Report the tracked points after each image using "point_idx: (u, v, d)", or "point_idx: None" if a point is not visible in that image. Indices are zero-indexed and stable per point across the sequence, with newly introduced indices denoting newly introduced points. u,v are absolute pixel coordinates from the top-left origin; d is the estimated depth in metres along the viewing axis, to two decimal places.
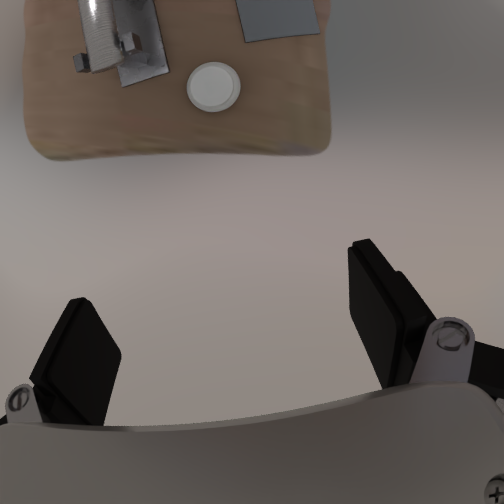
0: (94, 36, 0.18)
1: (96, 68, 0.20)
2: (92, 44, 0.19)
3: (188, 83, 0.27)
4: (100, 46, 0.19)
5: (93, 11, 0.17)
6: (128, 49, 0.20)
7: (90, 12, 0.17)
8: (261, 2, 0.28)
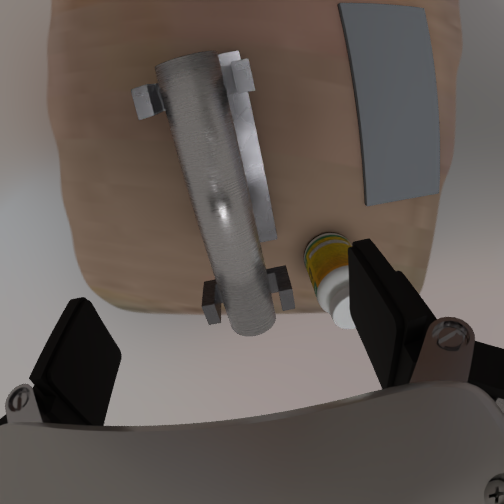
0: (243, 300, 0.18)
1: (246, 335, 0.19)
2: (240, 309, 0.18)
3: (322, 292, 0.27)
4: (253, 313, 0.18)
5: (239, 263, 0.17)
6: (286, 309, 0.20)
7: (235, 264, 0.17)
8: (390, 154, 0.27)
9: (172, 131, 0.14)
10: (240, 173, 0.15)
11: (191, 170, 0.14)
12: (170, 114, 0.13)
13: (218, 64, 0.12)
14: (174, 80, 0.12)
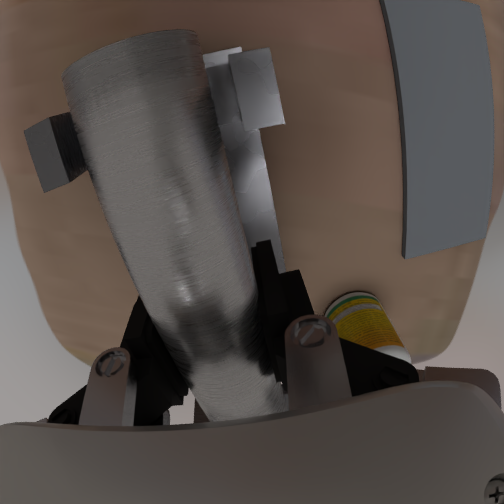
0: None
1: None
2: None
3: None
4: None
5: None
6: None
7: None
8: (438, 194, 0.20)
9: (106, 217, 0.06)
10: (250, 298, 0.08)
11: (150, 300, 0.07)
12: (94, 185, 0.06)
13: (199, 61, 0.05)
14: (90, 108, 0.05)
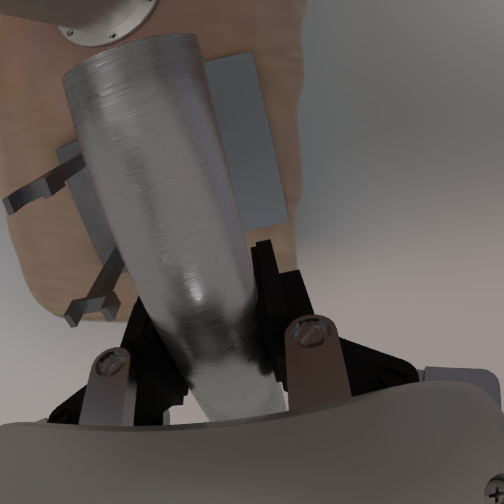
0: None
1: None
2: None
3: None
4: None
5: None
6: (109, 320, 0.28)
7: None
8: None
9: None
10: (250, 301, 0.08)
11: (151, 303, 0.07)
12: (95, 189, 0.06)
13: (199, 65, 0.05)
14: (91, 111, 0.05)
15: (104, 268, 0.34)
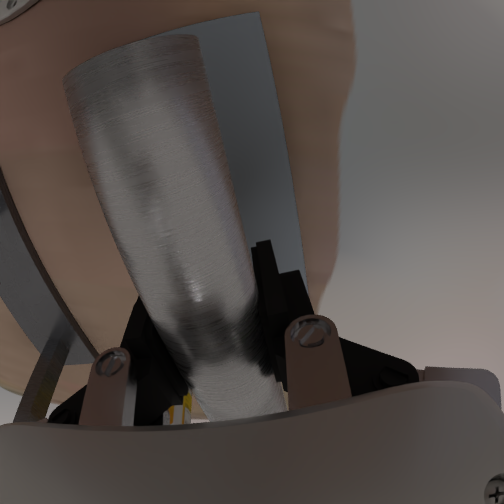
0: None
1: None
2: None
3: None
4: None
5: None
6: None
7: None
8: None
9: (107, 222, 0.06)
10: (251, 302, 0.08)
11: (152, 303, 0.07)
12: (95, 190, 0.06)
13: (200, 66, 0.05)
14: (91, 113, 0.05)
15: (33, 375, 0.19)
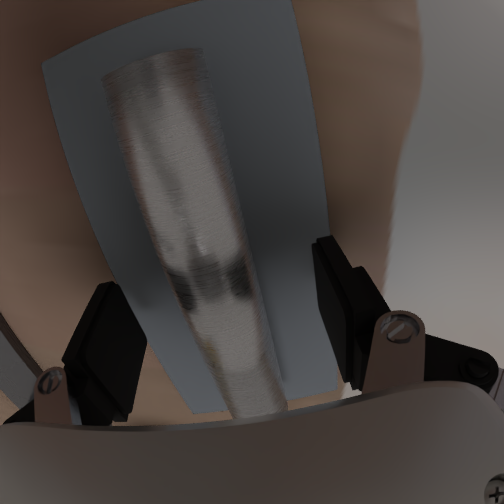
0: (247, 403, 0.13)
1: None
2: (243, 410, 0.13)
3: None
4: (260, 413, 0.13)
5: (242, 368, 0.11)
6: None
7: (236, 370, 0.11)
8: None
9: (132, 186, 0.09)
10: (243, 251, 0.10)
11: (164, 250, 0.09)
12: (125, 160, 0.08)
13: (204, 71, 0.07)
14: (126, 103, 0.07)
15: None
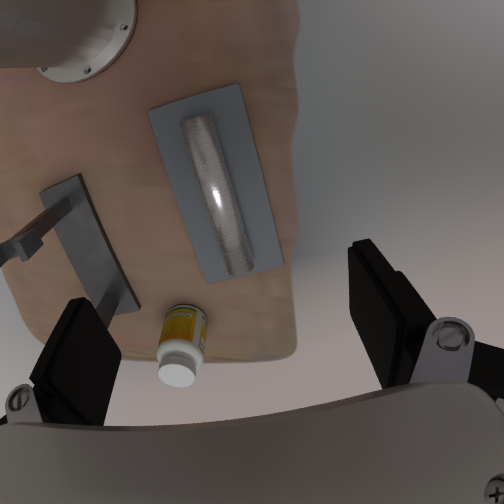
0: (232, 250, 0.31)
1: (235, 275, 0.32)
2: (230, 256, 0.31)
3: (157, 357, 0.33)
4: (238, 259, 0.31)
5: (228, 227, 0.30)
6: None
7: (226, 228, 0.30)
8: None
9: (189, 156, 0.27)
10: (226, 177, 0.28)
11: (200, 176, 0.28)
12: (188, 148, 0.27)
13: (211, 120, 0.26)
14: (189, 130, 0.25)
15: None
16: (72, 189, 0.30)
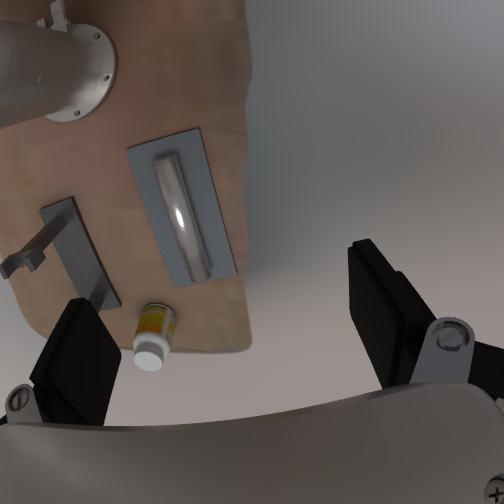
0: (193, 263, 0.38)
1: (197, 282, 0.40)
2: (192, 267, 0.39)
3: (133, 346, 0.40)
4: (198, 270, 0.39)
5: (190, 245, 0.37)
6: None
7: (188, 245, 0.37)
8: None
9: (159, 189, 0.34)
10: (188, 206, 0.36)
11: (168, 205, 0.35)
12: (158, 183, 0.34)
13: (176, 161, 0.33)
14: (159, 170, 0.32)
15: None
16: (66, 209, 0.36)
